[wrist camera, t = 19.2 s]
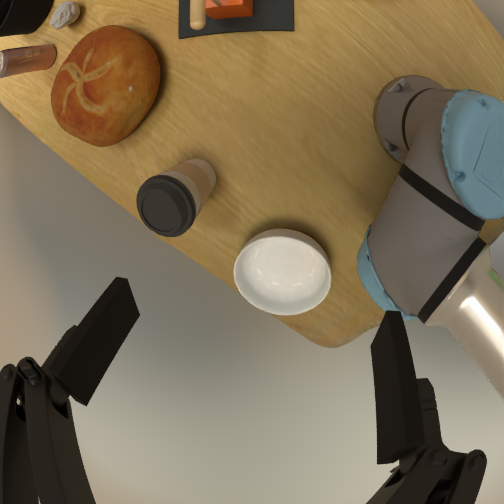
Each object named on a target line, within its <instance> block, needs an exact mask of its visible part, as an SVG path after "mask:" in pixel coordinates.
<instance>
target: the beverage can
mask: <svg viewBox="0 0 504 504" xmlns="http://www.w3.org/2000/svg"><path fill="white" fill-rule="evenodd" d="M55 57H56V49H55V47H54V46H52V45H39V46H29V47H20V48H13V49H6V50H2V51H0V78H3V77H7V76H11V75H16V74H21V73H26V72H32V71H37V70H44V69H47V68H49V67H50V66H51V65H52V64H53V62H54V60H55Z"/></svg>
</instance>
